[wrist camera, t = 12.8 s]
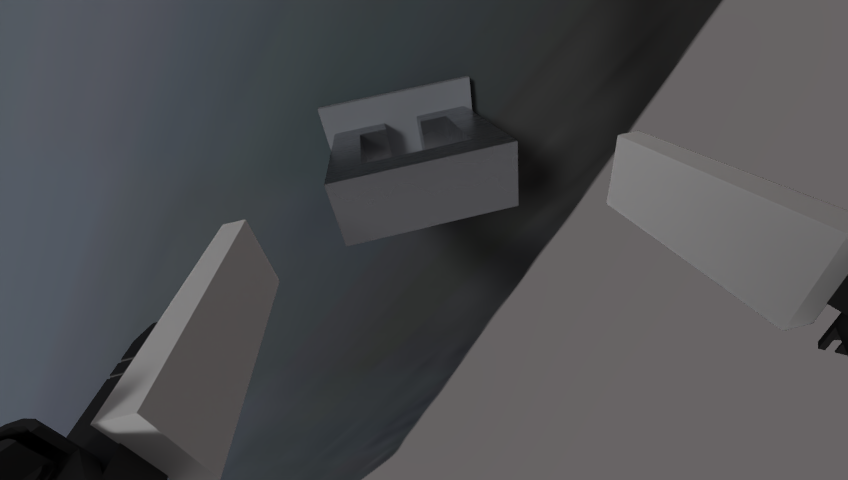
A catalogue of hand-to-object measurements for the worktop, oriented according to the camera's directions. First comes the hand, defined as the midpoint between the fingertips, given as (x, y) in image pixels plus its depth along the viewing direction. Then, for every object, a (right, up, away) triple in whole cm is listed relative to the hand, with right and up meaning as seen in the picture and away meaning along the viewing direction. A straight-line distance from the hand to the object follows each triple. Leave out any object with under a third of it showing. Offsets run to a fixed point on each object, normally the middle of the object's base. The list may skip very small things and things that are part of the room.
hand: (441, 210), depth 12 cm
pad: (-2, +5, +9) cm, 11 cm away
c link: (-2, +5, +9) cm, 10 cm away
